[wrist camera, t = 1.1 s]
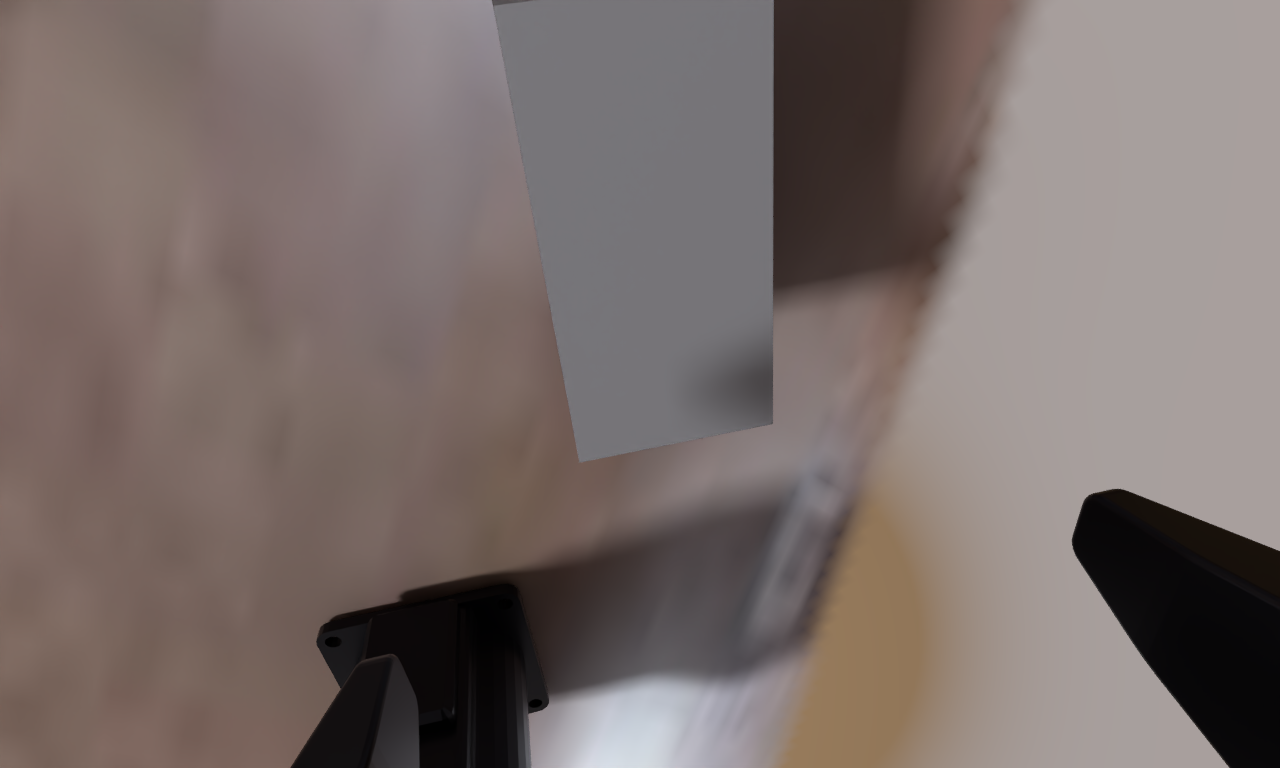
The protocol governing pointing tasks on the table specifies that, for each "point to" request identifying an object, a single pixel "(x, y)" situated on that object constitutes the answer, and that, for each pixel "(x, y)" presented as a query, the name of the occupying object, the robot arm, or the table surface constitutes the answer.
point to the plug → (651, 208)
